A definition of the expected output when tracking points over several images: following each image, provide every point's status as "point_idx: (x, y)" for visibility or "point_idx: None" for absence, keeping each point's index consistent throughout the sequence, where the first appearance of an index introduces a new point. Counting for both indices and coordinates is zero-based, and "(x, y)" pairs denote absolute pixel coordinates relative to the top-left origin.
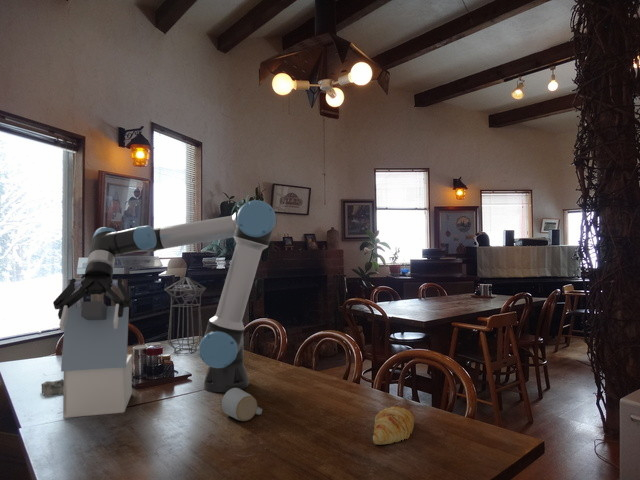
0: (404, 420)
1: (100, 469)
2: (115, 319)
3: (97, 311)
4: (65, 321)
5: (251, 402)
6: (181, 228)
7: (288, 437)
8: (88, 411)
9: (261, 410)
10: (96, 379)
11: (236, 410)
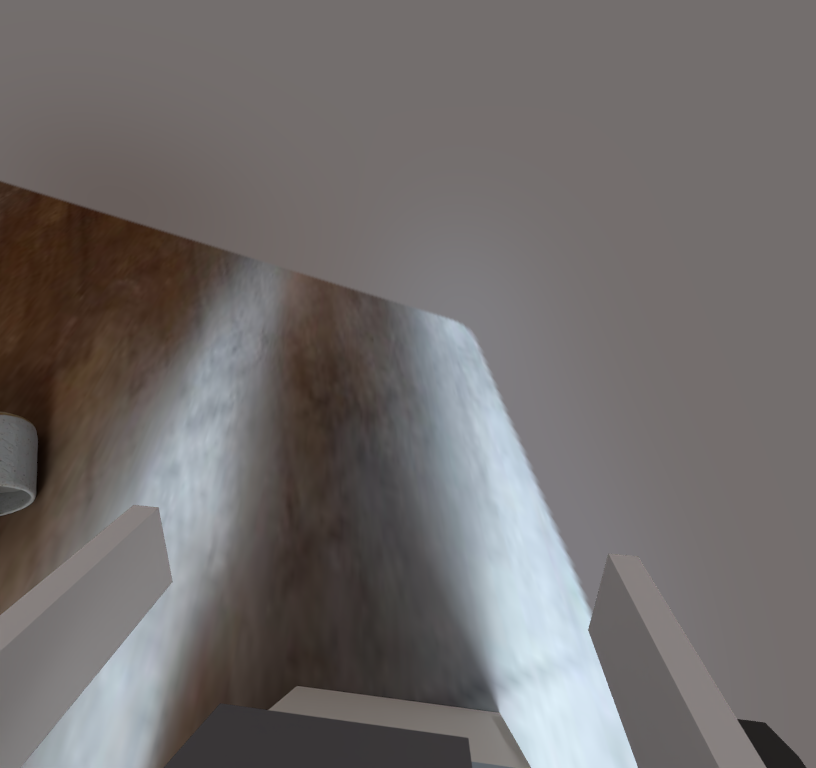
0: None
1: (365, 309)
2: (115, 531)
3: (236, 749)
4: (632, 703)
5: None
6: None
7: (13, 325)
8: (415, 706)
9: None
10: None
11: (22, 418)
